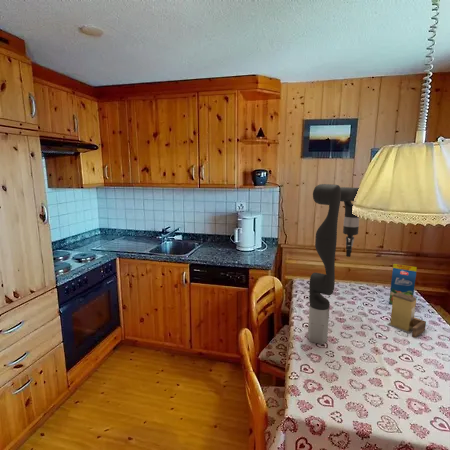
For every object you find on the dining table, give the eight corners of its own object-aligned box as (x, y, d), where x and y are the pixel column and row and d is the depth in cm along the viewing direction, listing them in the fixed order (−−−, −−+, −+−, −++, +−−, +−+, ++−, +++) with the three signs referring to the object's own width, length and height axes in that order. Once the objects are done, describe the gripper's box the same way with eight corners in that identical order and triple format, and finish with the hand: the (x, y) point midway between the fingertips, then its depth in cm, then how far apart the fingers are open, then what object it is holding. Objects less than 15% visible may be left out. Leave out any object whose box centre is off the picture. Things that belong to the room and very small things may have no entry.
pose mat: (387, 324, 161) (387, 324, 161) (393, 320, 165) (393, 320, 165) (409, 333, 152) (409, 333, 152) (415, 329, 156) (415, 328, 156)
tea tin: (390, 324, 161) (393, 294, 157) (394, 321, 163) (398, 292, 160) (408, 331, 153) (412, 300, 150) (413, 328, 156) (416, 298, 153)
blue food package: (411, 309, 179) (416, 268, 174) (388, 304, 185) (393, 265, 180) (412, 305, 184) (417, 265, 179) (390, 300, 190) (394, 262, 185)
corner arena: (383, 324, 161) (384, 316, 160) (393, 318, 167) (394, 310, 166) (415, 337, 148) (416, 328, 147) (424, 330, 155) (426, 321, 154)
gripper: (358, 228, 153) (355, 258, 156) (359, 223, 165) (356, 252, 168) (342, 227, 156) (340, 257, 159) (344, 222, 169) (342, 250, 172)
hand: (348, 254), depth 164 cm, fingers open, 8 cm apart
